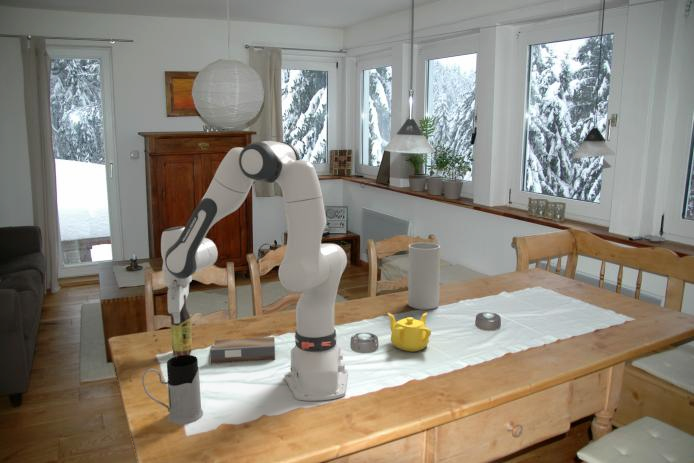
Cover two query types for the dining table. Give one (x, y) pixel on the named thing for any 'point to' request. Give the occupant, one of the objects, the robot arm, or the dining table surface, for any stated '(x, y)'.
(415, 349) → the teapot
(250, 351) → the price rail
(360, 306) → the dining table surface
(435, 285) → the cylinder vase
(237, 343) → the book
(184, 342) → the sauce bottle
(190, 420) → the grey mug
